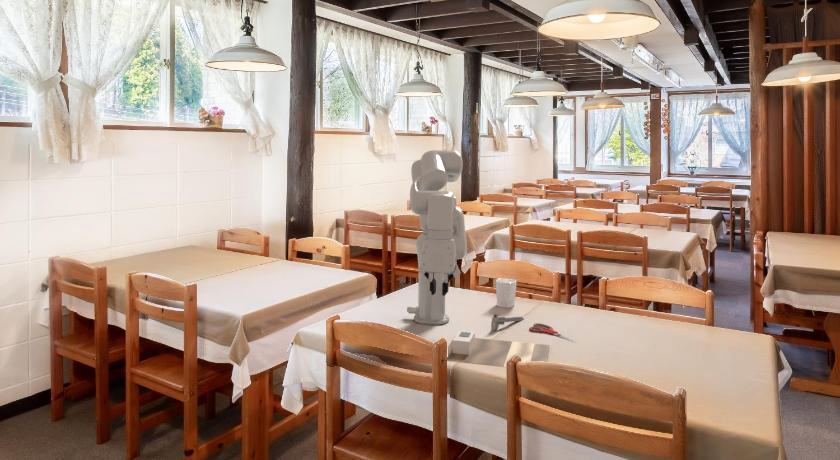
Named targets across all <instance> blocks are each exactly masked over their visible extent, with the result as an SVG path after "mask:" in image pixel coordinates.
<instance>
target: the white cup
mask: <svg viewBox="0 0 840 460" xmlns="http://www.w3.org/2000/svg"><path fill="white" fill-rule="evenodd" d="M495 291H496V292H495V293H496V295H495V296H496V306H497V307H500V308H505V309H506V308H507V309H508V308H514V306H515V302H516V301H515V299H516V293H517V292H516V291H517V280H516V279H515V278H507V277H506V278H497V279H496V280H495Z"/></svg>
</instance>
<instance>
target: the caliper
mask: <svg viewBox="0 0 840 460" xmlns="http://www.w3.org/2000/svg"><path fill="white" fill-rule="evenodd" d="M522 320H524V317H523V316H521V315H516V316H506V317H505V316H499V314H498V313H494V314H493V317H492V318H491V323H490V324H491V326H490V328H491V329H490V330H491V332H498V330H499V327H500V325H501V326H502V325H503V326H504V325H505V323H511V322H520V321H522Z"/></svg>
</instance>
